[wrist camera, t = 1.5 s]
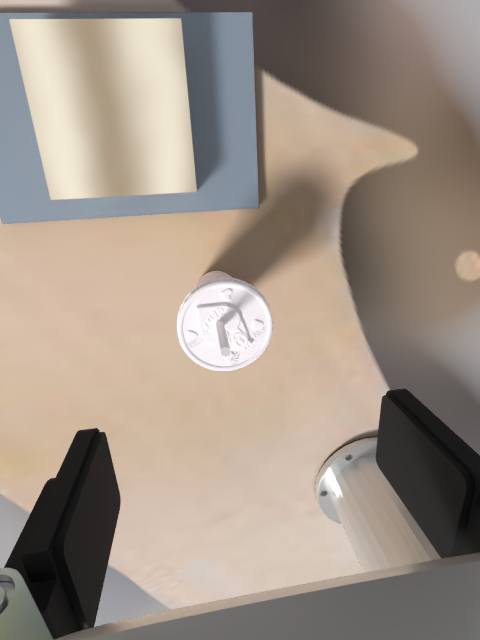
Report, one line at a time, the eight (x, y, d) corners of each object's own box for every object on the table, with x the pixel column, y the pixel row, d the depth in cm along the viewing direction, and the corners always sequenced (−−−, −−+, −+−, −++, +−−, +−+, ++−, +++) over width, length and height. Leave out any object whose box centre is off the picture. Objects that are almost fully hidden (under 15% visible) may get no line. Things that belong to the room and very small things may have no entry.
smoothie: (211, 240, 30) (226, 274, 17) (265, 285, 32) (315, 347, 19) (166, 296, 31) (147, 368, 18) (221, 336, 33) (239, 428, 20)
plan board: (249, 19, 25) (252, 12, 24) (256, 207, 29) (258, 207, 28) (-48, 20, 23) (-58, 13, 22) (8, 223, 27) (2, 224, 26)
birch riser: (182, 39, 24) (181, 18, 21) (196, 192, 27) (196, 191, 25) (31, 40, 23) (8, 19, 20) (65, 199, 26) (50, 199, 24)
